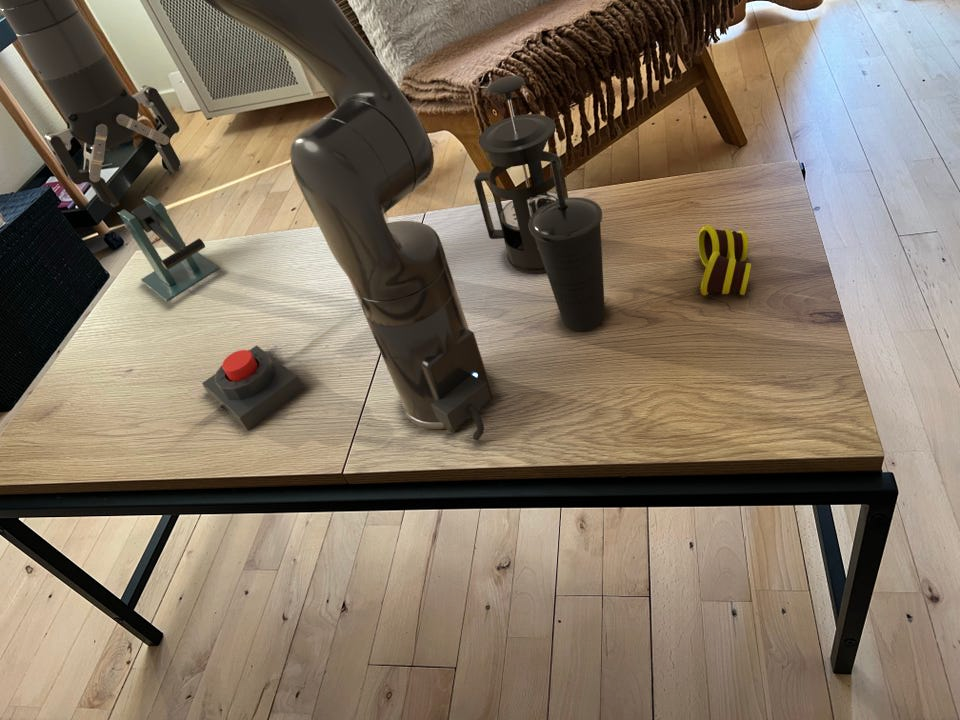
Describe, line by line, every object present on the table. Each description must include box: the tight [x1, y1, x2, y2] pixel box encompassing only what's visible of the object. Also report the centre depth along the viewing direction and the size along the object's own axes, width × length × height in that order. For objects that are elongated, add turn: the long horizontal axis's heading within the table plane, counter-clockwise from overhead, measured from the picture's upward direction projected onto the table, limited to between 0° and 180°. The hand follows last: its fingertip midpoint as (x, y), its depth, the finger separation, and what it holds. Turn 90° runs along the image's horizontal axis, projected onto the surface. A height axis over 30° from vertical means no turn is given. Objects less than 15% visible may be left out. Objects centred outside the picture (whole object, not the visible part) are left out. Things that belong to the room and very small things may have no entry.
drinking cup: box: [528, 161, 606, 333], centre depth 83 cm, size 8×8×20 cm
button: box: [221, 349, 258, 382], centre depth 90 cm, size 4×4×2 cm
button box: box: [201, 345, 305, 432], centre depth 92 cm, size 10×8×4 cm
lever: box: [130, 203, 206, 270], centre depth 109 cm, size 12×6×2 cm, turn 43°
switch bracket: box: [117, 195, 220, 302], centre depth 114 cm, size 10×9×13 cm
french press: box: [473, 75, 569, 275], centre depth 93 cm, size 12×9×23 cm
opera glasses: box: [697, 224, 752, 296], centre depth 87 cm, size 10×5×5 cm, turn 170°
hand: (145, 187), depth 98 cm, fingers open, 8 cm apart
